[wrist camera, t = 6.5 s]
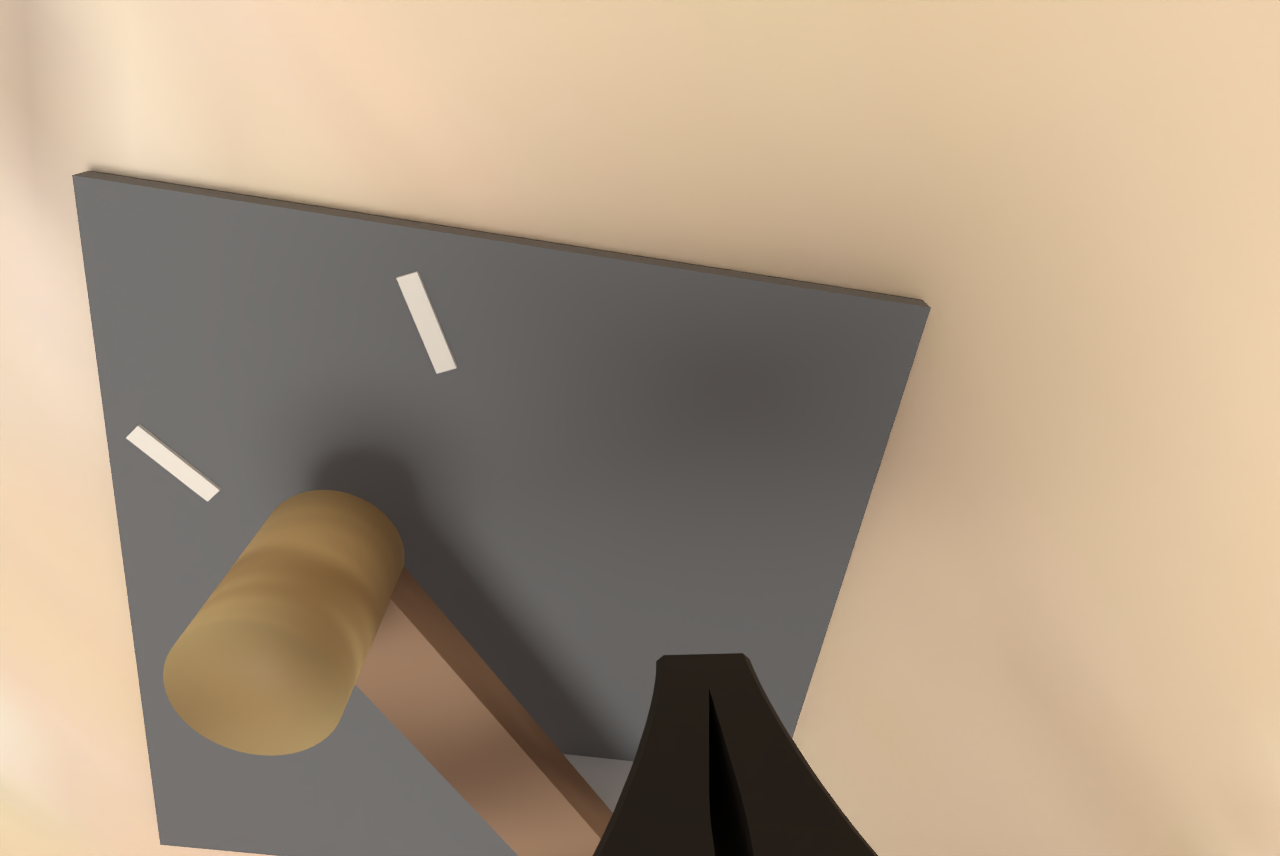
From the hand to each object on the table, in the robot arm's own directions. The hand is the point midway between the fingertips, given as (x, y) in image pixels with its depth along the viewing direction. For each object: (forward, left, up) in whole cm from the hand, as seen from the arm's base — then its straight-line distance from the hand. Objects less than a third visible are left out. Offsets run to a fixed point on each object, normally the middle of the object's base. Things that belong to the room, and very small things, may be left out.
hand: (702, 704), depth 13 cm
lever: (-8, +3, -6) cm, 11 cm away
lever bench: (-6, +4, -9) cm, 12 cm away
